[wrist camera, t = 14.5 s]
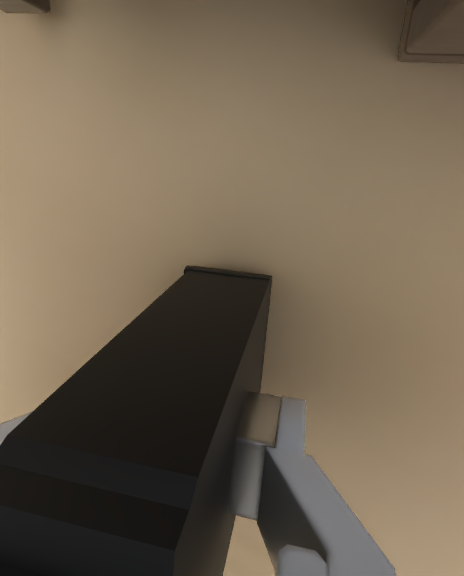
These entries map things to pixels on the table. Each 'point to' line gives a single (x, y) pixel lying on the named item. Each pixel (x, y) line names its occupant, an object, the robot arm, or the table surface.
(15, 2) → the drawer
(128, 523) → the ink cartridge
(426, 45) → the cabinet
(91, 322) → the table surface
